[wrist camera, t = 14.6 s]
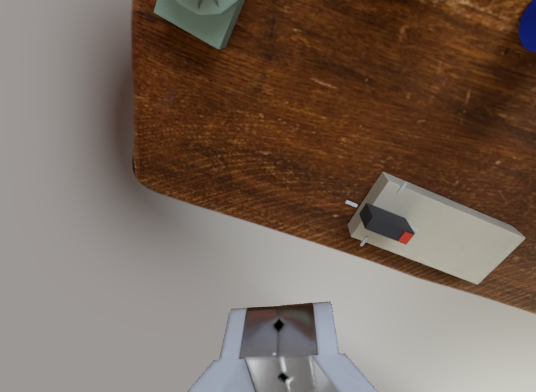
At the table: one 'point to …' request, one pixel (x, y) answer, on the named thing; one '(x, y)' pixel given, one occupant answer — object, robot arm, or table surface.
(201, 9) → the control block
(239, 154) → the table surface
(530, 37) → the beverage can
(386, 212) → the dark grey red-tipped block
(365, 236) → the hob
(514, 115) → the table surface
